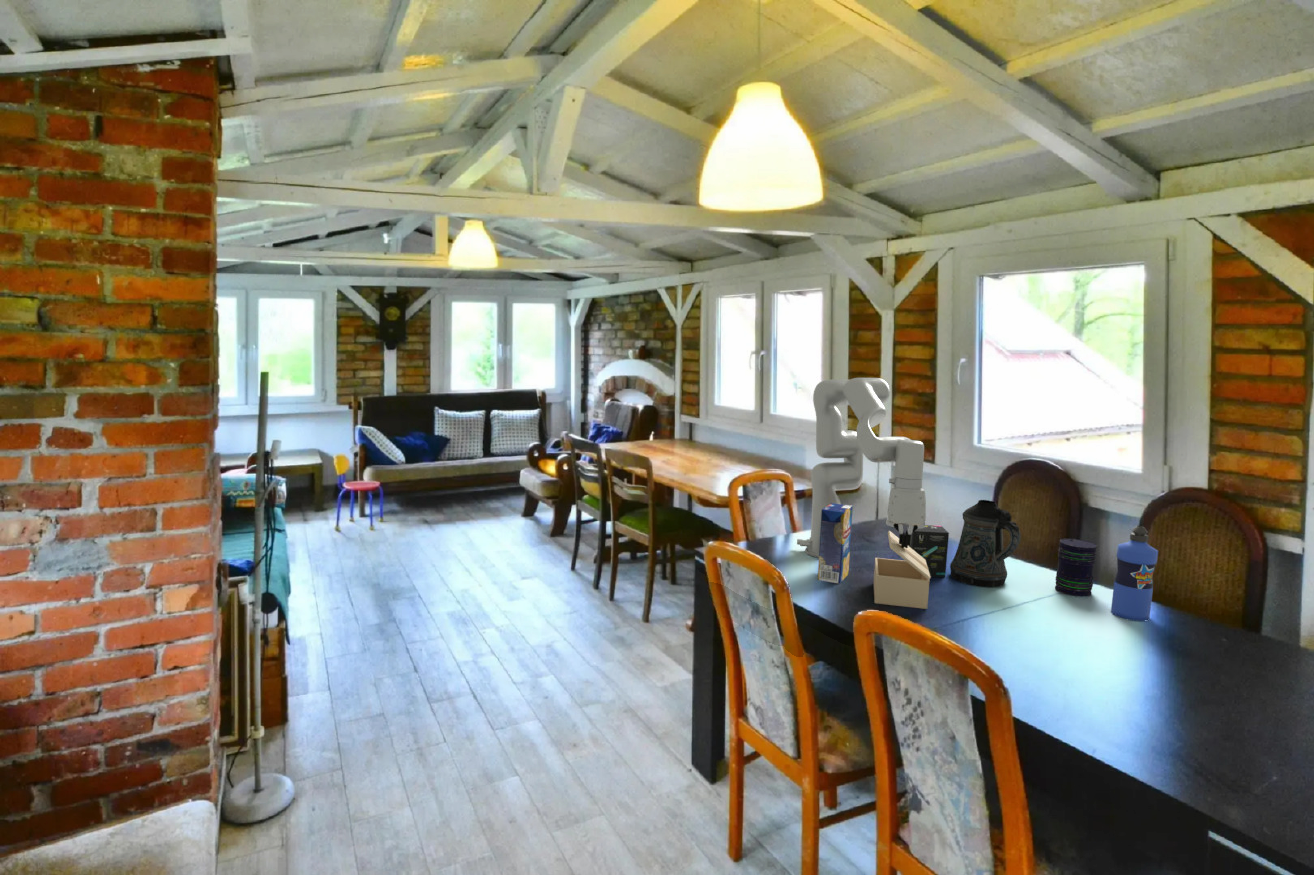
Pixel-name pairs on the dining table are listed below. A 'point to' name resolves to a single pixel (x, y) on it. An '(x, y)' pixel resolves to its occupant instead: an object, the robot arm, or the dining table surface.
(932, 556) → the tampon box
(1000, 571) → the beer stein
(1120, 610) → the water bottle
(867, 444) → the robot arm
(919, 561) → the lid
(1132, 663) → the dining table surface
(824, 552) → the beverage box
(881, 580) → the carton
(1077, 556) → the storage jar
